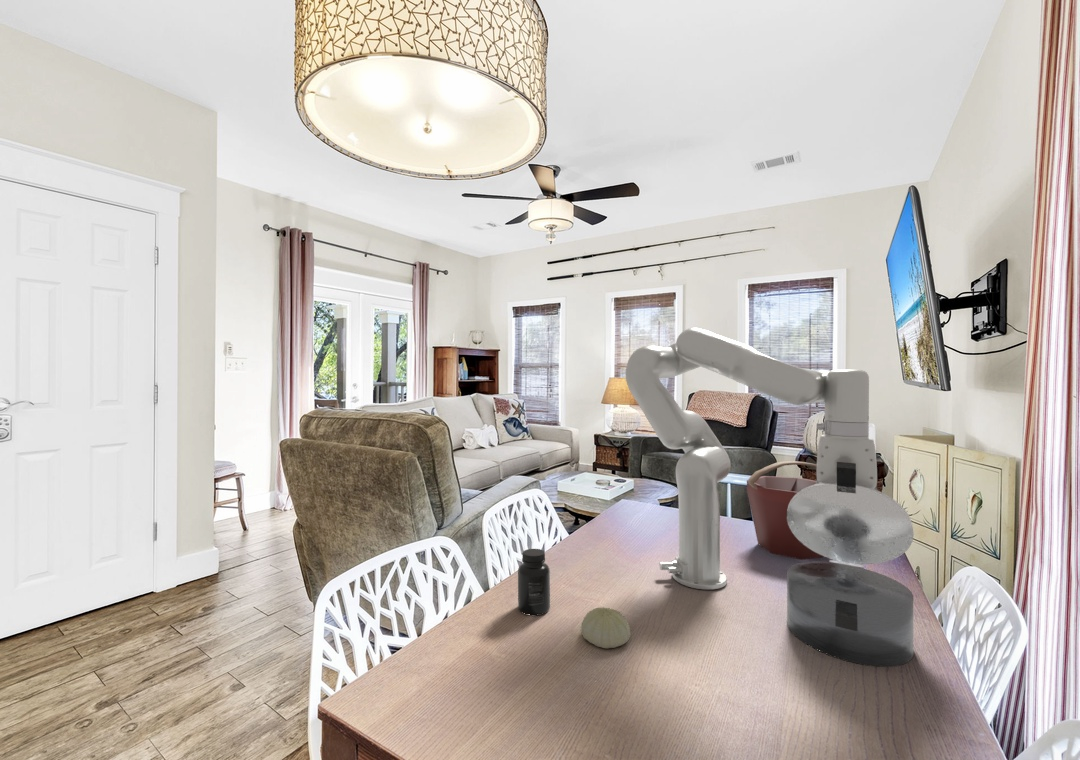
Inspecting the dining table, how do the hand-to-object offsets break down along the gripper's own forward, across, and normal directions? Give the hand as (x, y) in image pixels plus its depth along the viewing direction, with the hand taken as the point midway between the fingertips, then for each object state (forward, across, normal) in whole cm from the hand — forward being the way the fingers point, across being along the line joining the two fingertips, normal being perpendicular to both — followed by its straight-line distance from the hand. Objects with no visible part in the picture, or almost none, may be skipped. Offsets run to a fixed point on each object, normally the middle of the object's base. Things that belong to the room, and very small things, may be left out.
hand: (845, 520), depth 95 cm
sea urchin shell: (+21, -38, -32) cm, 54 cm away
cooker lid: (-1, 0, -4) cm, 4 cm away
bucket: (+20, -12, +39) cm, 45 cm away
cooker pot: (+20, 0, -9) cm, 22 cm away
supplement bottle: (+21, -56, -30) cm, 67 cm away
